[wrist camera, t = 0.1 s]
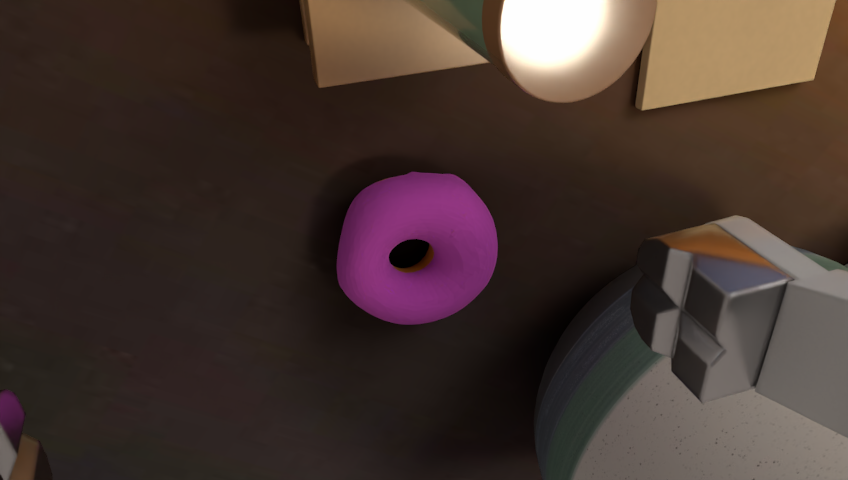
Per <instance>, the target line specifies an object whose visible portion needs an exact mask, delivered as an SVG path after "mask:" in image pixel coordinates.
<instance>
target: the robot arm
mask: <svg viewBox="0 0 848 480" xmlns="http://www.w3.org/2000/svg"><path fill="white" fill-rule="evenodd" d="M636 265H637V266H638V268H639V269H640V270H641V272H642V273H643V275H642V277H641V278H640V279H639V281H638V282H637V284H636V285H635V286H634V288H633V289H632V294H631V304H630V311H631V315H632V319H633V323H634V327H635V328H636V330H637V332H638V334H639V336H640V337H641V339H642V340H643V341H644V342H645V344H646V345H647V346H648V347H649V348H650V349H651V350H652V351H654V352H657V353H659V354H662V355H664V356H667V357H669V358H671V371H672V372H673V374H674V375H675V376H676V377H677V378H678V379H679V380H680V381H681V382H682V383H683V384H684V385H685V386H686V387H687V388H688V389H689V390H690V391H691V392H692V393H693V394H694V396H695V397H696V398H697V399H698V400H699V401H700V402H701V403H705V402H709V401H712V400H716V399H719V398H723V397H726V396H730V395H733V394H737V393H741V392H744V391H748V390H751V389H755V388H756V389H755V392H757V393H759V394H761V395H763V396H765V397H767V398H769V399H771V400H773V401H775V402H777V403H779V404H781V405H783V406H785V407H787V408H789V409H791V410H793V411H795V412H797V413H799V414H801V415H803V416H805V417H807V418H809V419H811V420H813V421H815V422H817V423H819V424H821V425H823V426H825V427H827V428H829V429H831V430H833V431H835V432H837V433H839V434H841V435H843V436H845V437H847V438H848V272H847V271H844V270H840V269H836V270H832V271H828V270H826V269H825V268H823V267H822V266H820V265H818V264H817V263H815V262H814V261H812V260H811V259H809V258H808V257H806V256H805V255H803V254H802V253H800V252H799V251H797V250H796V249H794V248H793V247H791V246H790V245H788V244H787V243H785V242H784V241H782V240H781V239H779V238H778V237H776V236H774V235H773V234H771V233H770V232H768V231H767V230H765V229H764V228H762V227H761V226H759V225H758V224H756V223H755V222H753V221H752V220H750V219H749V218H746V217H741V216H736V215H735V216H732V217H728V218H724V219H720V220H716V221H713V222H709V223H706V224H705V225H702V226H697V227H693V228H689V229H685V230H681V231H676V232H672V233H668V234H664V235H660V236H656V237H652V238H647V239H644V241H643V243H642V244H641V246H640V248H639V250H638V256H637V261H636ZM25 416H26V413H25V411H24V409H23V407H22V406H21V404H20V402H19V400H18V398H17V397H16V395H15V393H14V392H11V391H9V390H6V389H3V390H0V480H53V479H52V472H51V469H50V465H49V462H48V458H47V455H46V453H45V451H44V449H43V447H42V445H41V443H40V441H39V440H37V439H34V438H32V437H30V436H28V435H26V434H24V433H22V431H23V426H24V421H25Z"/></svg>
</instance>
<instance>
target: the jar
mask: <svg viewBox="0 0 848 480" xmlns="http://www.w3.org/2000/svg"><path fill="white" fill-rule="evenodd" d="M403 1H405V2H406V3H407V4H409V5H410V6H412V7H413V8H414V9H416V10H417V11H419V12H420V13H421V14H423V15H424V16H426V17H427V18H428V19H430V20H431V21H433V22H434V23H435V24H437V25H438V26H440V27H441V28H442V29H444V30H445V31H447V32H448V33H449V34H451V35H452V36H454V37H455V38H456V39H458V40H459V41H461V42H462V43H463V44H465V45H466V46H468V47H469V48H470V49H472V50H473V51H475V52H476V53H477V54H479V55H480V56H482V57H483V58H484V59H486V60H487V61H489V62H490V63H491V64H493V65H494V66H496V68H497V69H498V70H499V71H500V72H501V73H502V74H503V76H505V77H506V78H507V79H508V80H510V81H511V82H512V83H514V84H515V85H516V86H518V87H519V88H520V89H522V90H523V91H525V92H526V93H527V94H529V95H531V96H533V97H535V98H537V99H540V100H543V101H547V102H552V103H568V102H575V101H579V100H583V99H586V98H588V97H591V96H593V95H595V94H597V93H599V92H601V91H603V90H604V89H606V88H607V87H609V86H610V85H612V84H613V83H614V82H615V81H616V80H618V79H619V78H620V77H621V76H622V75H623V74H624V73H625V72H626V71H627V70H628V68H629V67H630V66H631V65H632V63H633V62H634V61H635V59H636V58H637V56H638V55H639V53H640V52H641V50H642V48H643V46H644V44H645V42H646V40H647V38H648V36H649V33H650V31H651V28H652V24H653V21H654V17H655V12H656V7H657V0H403Z"/></svg>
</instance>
